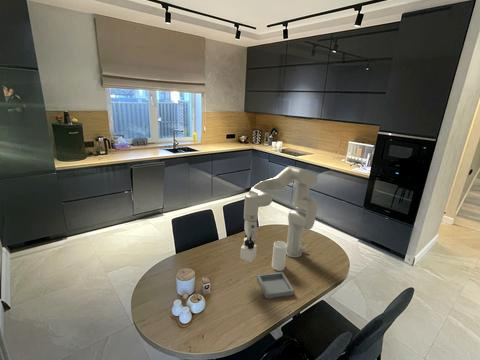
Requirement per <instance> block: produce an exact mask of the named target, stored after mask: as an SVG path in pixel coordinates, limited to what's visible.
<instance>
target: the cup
mask: <svg viewBox="0 0 480 360" xmlns="http://www.w3.org/2000/svg"><path fill="white" fill-rule="evenodd" d="M286 252H287V242H285V241H282V240H277V241H274V242H273V249H272V259H271V269H273V270H275V271H278V272H282V271H283V270H285V267H286V260H287V259H286V258H287V255H286Z"/></svg>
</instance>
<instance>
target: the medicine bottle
mask: <svg viewBox="0 0 480 360" xmlns="http://www.w3.org/2000/svg"><path fill="white" fill-rule="evenodd" d="M251 239H252V238H250V240H251ZM248 242H249V238H248V237H246V238H245V237H244V238H243V244H242V246H241V247H240V255H239V256H240V257H239V258H240V259H241V260H243V261H246V262H250V263H252V262H253V261H254V259H255V258H256V257H257V251H258V250H257V248H258V246H257V245H256V244H255V241H254V248H253V249H248Z"/></svg>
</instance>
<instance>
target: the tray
mask: <svg viewBox="0 0 480 360" xmlns="http://www.w3.org/2000/svg"><path fill="white" fill-rule="evenodd" d="M256 280H257V282H258V285H259V287H260V289H261V292H262V294H263V296H264V298H265V299H266V300H269V299H277V298H282V297H289V296H294V295H295V289H294V287H293V286H292V284H291V283H290V281H289V279H288V278H287V276H286V275H285V273H284V272H283V271H278V272H268V273H260V274H256Z"/></svg>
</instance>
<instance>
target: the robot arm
mask: <svg viewBox="0 0 480 360" xmlns="http://www.w3.org/2000/svg"><path fill="white" fill-rule="evenodd" d="M292 182H294V183H295V191H294V192H295V194H294V198H293V202H292V204H293V207H294V208H295V209H291V210H290V211H288V215H287V222H288V228H287V236H286V244H287V252H286V257H288V258H289V257H290V258H293V259H294V258H295V259H296V258H300V257H301V256H302V255H303V251H307V246H303V245H302V239H303V238H302V237H303V229H304V230H307V231H308V230H309V231H310V230H312V228H313V227H314V225H315V221H316V216H317V213H318V208H319V205H318V202H317V200H316V199H314V198H311V197H309V194H310V187H314V186H315V185H316V184H317V182H318V174H317V173H315V172H313V171H310V170H307V169H304V168H300V167H297V166H293V165H288V166H286V167H285V168H284V169H283V170H281V171H280V172H279V173H278V174H277V175H275V176H274V177H273V178H268V179H265V180H261V181H260V182H258V183H256V184H254V186H252V187H251V188H250V189H249V192H248V193H246V194H245V196H244V205H243V206H244V208H243V219H244V225H243V226H244V227H243V228H244V238H246V237H248V238H249V242H248V249H253V248H254V245H255V243H254V241H255V240H256V239H255V238H258V223H257V222H258V218H259V208H262V207H268V206H270V205H271V204H272V203H273V196H272V194H270V192H269V191H282V190H284V189H286V187H287V186H289V184H291V183H292ZM250 238H252V239H251V240H250Z"/></svg>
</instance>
